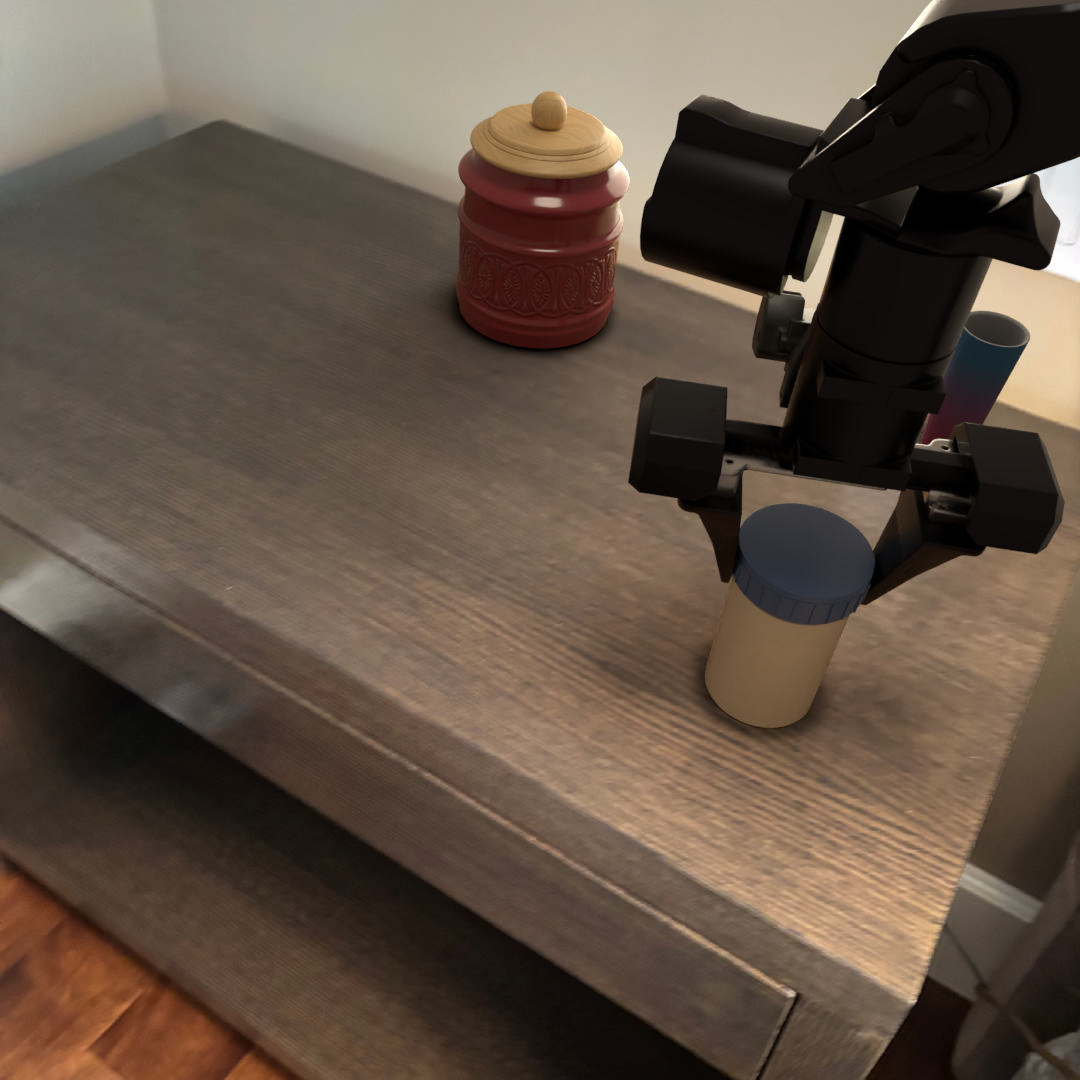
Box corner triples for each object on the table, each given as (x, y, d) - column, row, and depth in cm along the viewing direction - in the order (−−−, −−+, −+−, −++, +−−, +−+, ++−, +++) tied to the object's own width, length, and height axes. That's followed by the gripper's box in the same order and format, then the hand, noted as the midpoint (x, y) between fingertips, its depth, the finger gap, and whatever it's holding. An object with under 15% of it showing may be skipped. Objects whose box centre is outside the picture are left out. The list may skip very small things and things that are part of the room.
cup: (921, 418, 78) (968, 303, 71) (980, 439, 77) (1035, 323, 70) (906, 450, 75) (955, 332, 68) (969, 472, 74) (1024, 354, 67)
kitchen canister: (640, 333, 84) (676, 116, 72) (499, 367, 79) (511, 141, 67) (563, 259, 92) (583, 52, 80) (430, 286, 87) (430, 70, 75)
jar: (808, 649, 60) (857, 523, 53) (818, 735, 56) (873, 610, 49) (703, 635, 60) (739, 508, 53) (704, 720, 56) (743, 594, 49)
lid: (771, 510, 55) (779, 483, 54) (888, 572, 53) (899, 545, 51) (704, 577, 51) (711, 550, 50) (826, 648, 49) (837, 622, 47)
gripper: (1073, 263, 47) (954, 513, 58) (671, 207, 48) (627, 462, 59) (1139, 403, 39) (986, 663, 50) (654, 332, 40) (607, 601, 51)
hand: (793, 587), depth 53 cm, fingers closed on lid, 7 cm apart
